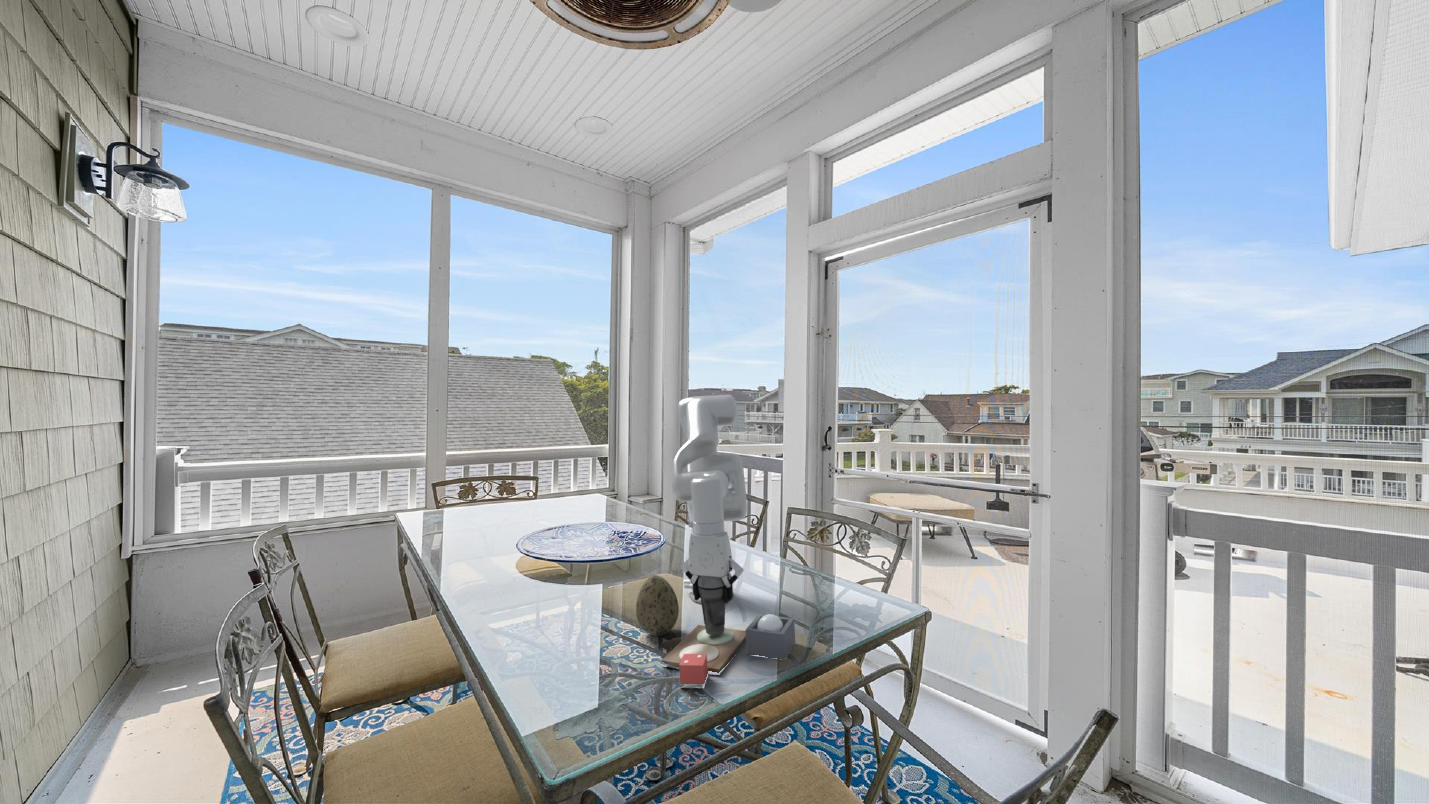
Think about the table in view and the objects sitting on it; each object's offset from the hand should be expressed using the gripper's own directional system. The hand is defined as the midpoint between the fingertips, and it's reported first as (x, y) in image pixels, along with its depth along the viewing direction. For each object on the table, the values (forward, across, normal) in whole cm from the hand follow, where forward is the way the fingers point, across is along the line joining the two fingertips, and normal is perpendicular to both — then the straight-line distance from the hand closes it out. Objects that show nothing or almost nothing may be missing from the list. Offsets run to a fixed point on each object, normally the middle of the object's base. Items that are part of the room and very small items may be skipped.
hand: (713, 599), depth 141 cm
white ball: (+8, +14, 0) cm, 16 cm away
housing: (+11, +14, 0) cm, 18 cm away
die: (+10, +3, -19) cm, 22 cm away
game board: (+11, 0, -5) cm, 12 cm away
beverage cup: (+8, 0, 0) cm, 8 cm away
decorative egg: (+11, -16, 0) cm, 19 cm away
